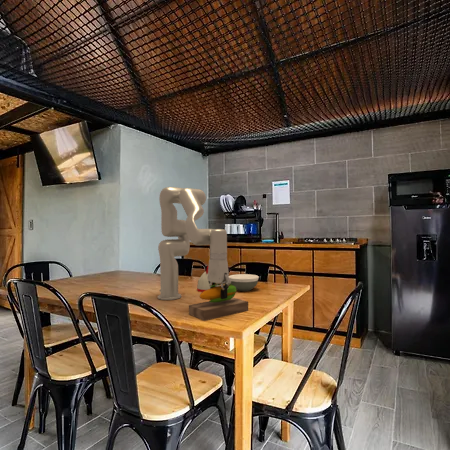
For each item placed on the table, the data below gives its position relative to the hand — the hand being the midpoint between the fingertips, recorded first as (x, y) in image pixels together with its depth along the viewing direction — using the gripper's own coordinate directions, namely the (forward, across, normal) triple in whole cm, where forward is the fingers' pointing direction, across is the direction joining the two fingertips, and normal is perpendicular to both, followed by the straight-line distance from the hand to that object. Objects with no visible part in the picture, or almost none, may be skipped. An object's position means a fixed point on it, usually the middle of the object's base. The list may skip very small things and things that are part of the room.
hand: (218, 296), depth 134 cm
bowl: (+7, -31, +42) cm, 53 cm away
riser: (+7, 0, 0) cm, 7 cm away
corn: (+2, 0, 0) cm, 2 cm away
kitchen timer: (+7, -44, +25) cm, 51 cm away
